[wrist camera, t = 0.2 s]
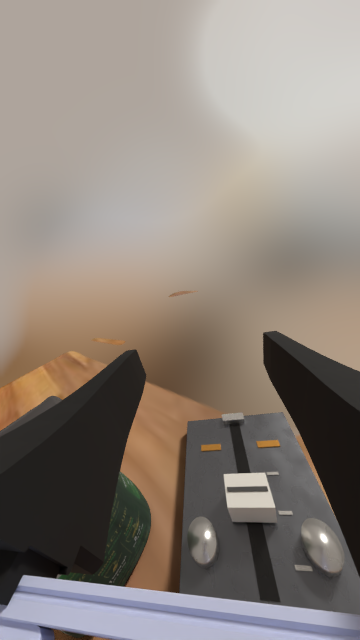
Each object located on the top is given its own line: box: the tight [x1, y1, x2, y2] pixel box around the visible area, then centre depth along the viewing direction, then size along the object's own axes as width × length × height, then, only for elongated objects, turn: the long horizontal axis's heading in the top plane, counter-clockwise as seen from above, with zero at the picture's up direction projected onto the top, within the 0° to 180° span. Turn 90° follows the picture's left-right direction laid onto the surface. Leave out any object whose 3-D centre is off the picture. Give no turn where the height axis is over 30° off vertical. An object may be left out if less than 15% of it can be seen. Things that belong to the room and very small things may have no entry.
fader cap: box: [224, 473, 277, 523], centre depth 16 cm, size 2×4×3 cm, turn 85°
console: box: [179, 412, 360, 615], centre depth 19 cm, size 16×14×3 cm
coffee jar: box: [0, 396, 151, 638], centre depth 15 cm, size 10×8×19 cm
